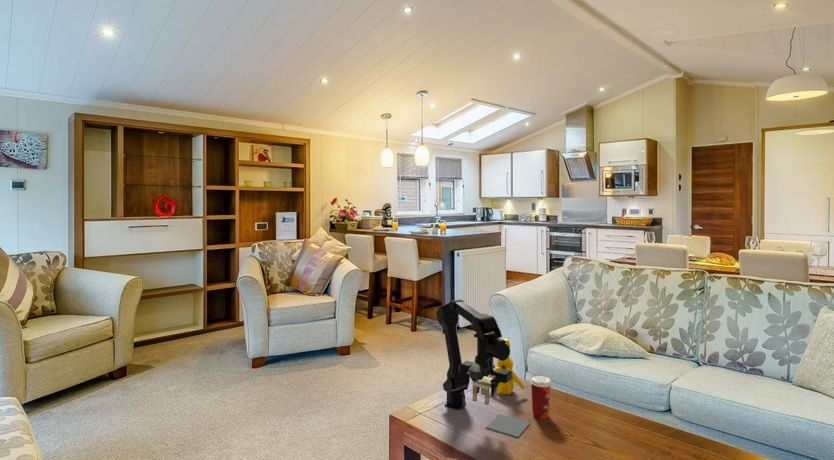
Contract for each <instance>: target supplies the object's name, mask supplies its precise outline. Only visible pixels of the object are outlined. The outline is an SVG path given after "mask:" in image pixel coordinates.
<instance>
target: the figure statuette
mask: <svg viewBox="0 0 834 460" xmlns="http://www.w3.org/2000/svg"><path fill="white" fill-rule="evenodd" d="M503 340H505V344H507V345H508V346H509V348H510V349H511V342H510V339H509V338H503ZM496 365H497V367H496V368H494V370H495V371H499V370H501V369H506V370H510V371H511V372H512V374H513V378H512V379H511V380H510V381H508V382H507V383H502V382H500V383H499V385H498V387H497V395H511V394H512V392H513V390H514V388H515V383H516V385H518V386H519V387H520V388H521V389H522V390H525V389H526V387H525V385H524V384H523V382H522V381H521V380H520V378H519V377H518V375H517V374H516V373H515V372H514V370H513V368H514V361H513V360H512V358H511V357H510V356H509V357H508V358H507V359H506V360H504V361H501V360H499V359H497V364H496ZM488 377H490V378H493V376H491V375H488Z"/></svg>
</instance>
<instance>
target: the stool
mask: <svg viewBox="0 0 834 460" xmlns="http://www.w3.org/2000/svg"><path fill="white" fill-rule="evenodd" d="M492 379H493V378H490V377H489V376H488V377H486V376H484V377H483V379H482V380H478V379H477V380H475V381H474V382H473V381H472V402H477V401H478V393H477V387H480V395H482V396H484V405H486V406H488V405H489V404H490V389H491V382H490V380H492ZM492 399H495V400H496V399H498V393H497V389H496V392H495V394H494V396H493V397H492Z"/></svg>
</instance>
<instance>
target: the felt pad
mask: <svg viewBox="0 0 834 460" xmlns="http://www.w3.org/2000/svg"><path fill="white" fill-rule="evenodd" d="M530 425H531V422H530V421H527V420H523V419H519V418H516V417H512V416H509V415H506V414H501V413H499V414H498V415H497V416H496V417H495V418H494V419H493V420H492V421H490V422H489V423H488V424H487V425H486V426H485V428H486V429H488V430H491V431H494V432H498V433H501V434H504V435H507V436H511V437H514V438H516V439H517V438H518V439H519V437H520V436H521V435H522V434H523V433H524V431H525V430H526V429H527V428H528V427H529V426H530Z"/></svg>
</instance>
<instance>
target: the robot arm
mask: <svg viewBox="0 0 834 460" xmlns="http://www.w3.org/2000/svg"><path fill="white" fill-rule="evenodd" d="M459 316H460V317H462V318H463V319H465V320H466V321H467V322H469V323H470V324H471V328H472V330H473V331H474V332H475V333H474V335H473V337H475V338H476V355H475V357H474V360H473V361H474V362H473V361H469V360H465V361H464V362H462V355H461V349H460V344H459V339H458V338H459V337H458V331H457V325H458V323H459V320H460V318H459ZM436 317H437V321H438V324H439V325H440V326H441V327H442V329H443V332H444V339H445V345H446V350H447V351H446V352H447V357H448V364H449V366H448V369H447V372H446V380H445V381H444V382H443V384H442V388H443V391H445V392H446V403H444V406H445V407H448V408H451V409H454V410H461V408H463V407H464V406H466V405H467V402H466V394H465V391H467V390H468V389H469V385H470V380H471V381H472V383H473V382H474V381H475V380H477V379H478V380H482V379H483V377H484V376H486V377H489V375H491V376H493V379H492V380H490V382H491V388H490V396H491V398H493V396H494V394H495V392H496V389H497V387H498V385H499V383H500V382H502V383H507V382H508V381H510V380H511V379H512V378H513V374H512V372H511V371H510V370H506V369H501V370H499V371H495V369H496V368H495V367H496V365H495V364H494V358H495V359H497V360H501V361H504V360H506V359H507V358H508V357H510V355H511V347H510V348H509V346H508V345H507V344H505V340H503V339H504V338H503V339H502V337H503V334H502V331H501V330H500V327H499V325H498V323H497V320H496V319H495V317H494V316H492V315H489V314H486V313H481V312H479V311H477V310H476V309H475V308H473V307H472V306H470V305H469V304H467V303H466V302H465V301H464V300H463V299H461V298H460V299H453V300H451V301H449V302H448V303H446V304H444V305H443V306H442V305H441V306H439V307H438V308H437V310H436ZM480 392H481V388H480V387H477V394H479V393H480Z"/></svg>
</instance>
